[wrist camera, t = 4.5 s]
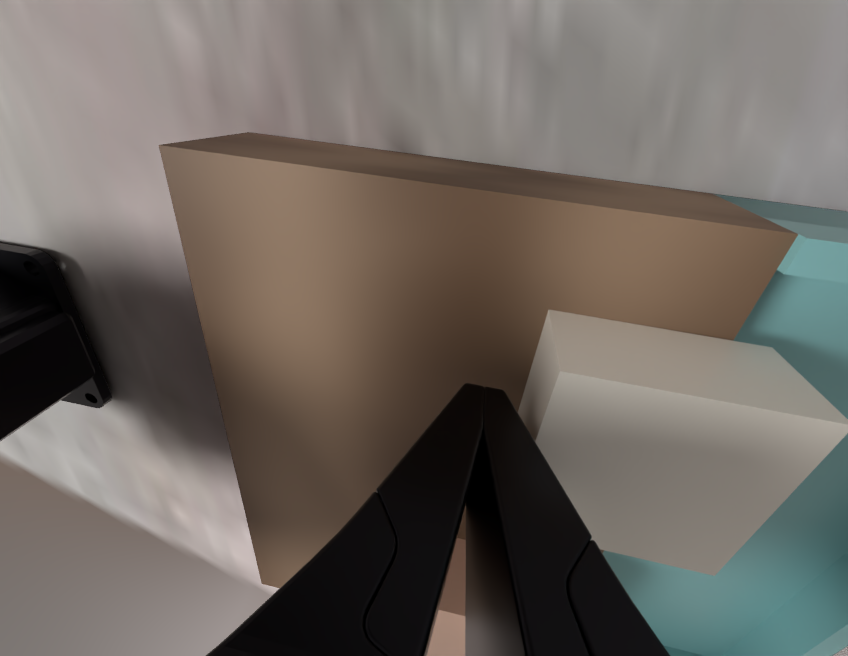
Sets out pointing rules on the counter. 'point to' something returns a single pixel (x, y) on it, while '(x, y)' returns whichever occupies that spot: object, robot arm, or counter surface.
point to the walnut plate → (415, 299)
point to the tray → (806, 506)
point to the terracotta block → (452, 609)
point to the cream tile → (672, 435)
